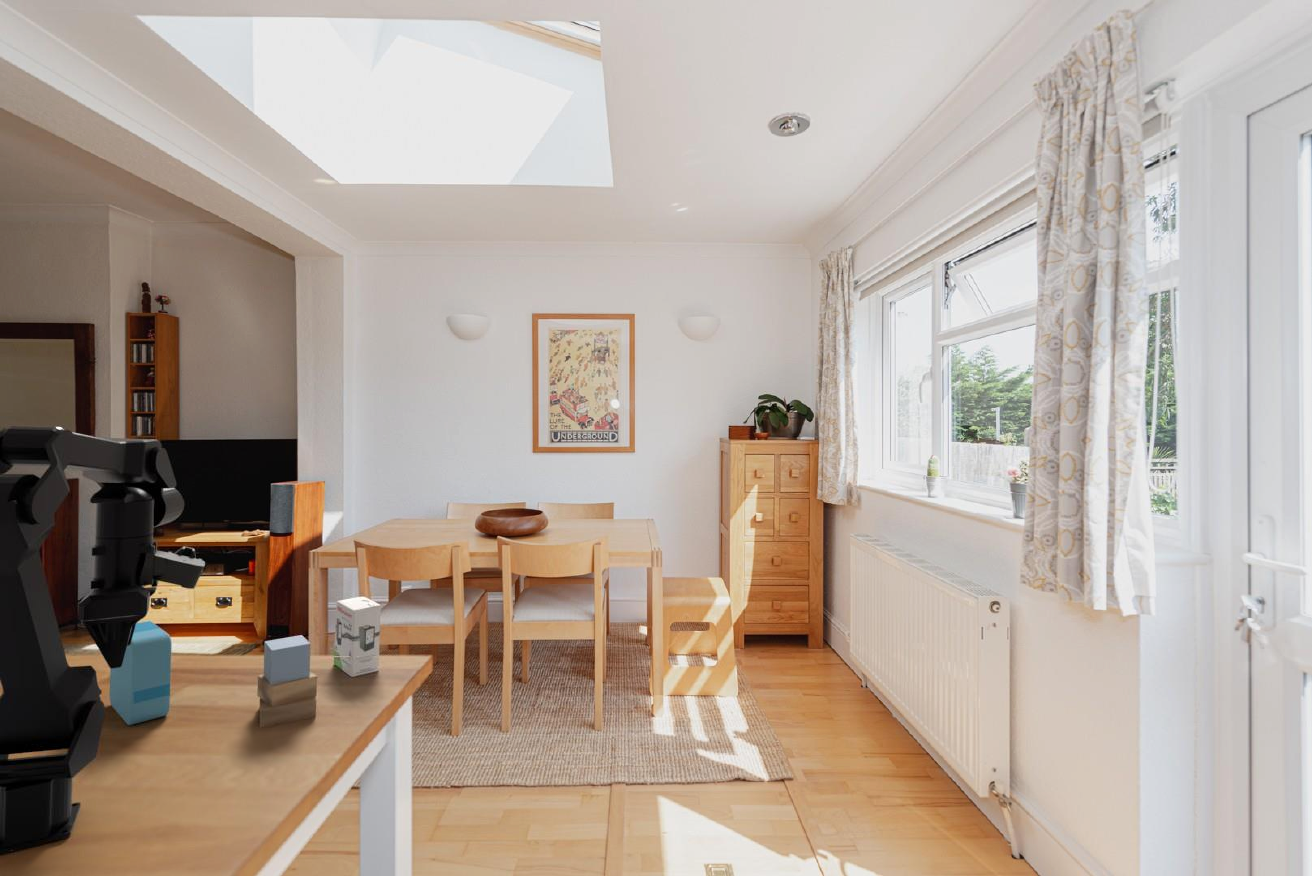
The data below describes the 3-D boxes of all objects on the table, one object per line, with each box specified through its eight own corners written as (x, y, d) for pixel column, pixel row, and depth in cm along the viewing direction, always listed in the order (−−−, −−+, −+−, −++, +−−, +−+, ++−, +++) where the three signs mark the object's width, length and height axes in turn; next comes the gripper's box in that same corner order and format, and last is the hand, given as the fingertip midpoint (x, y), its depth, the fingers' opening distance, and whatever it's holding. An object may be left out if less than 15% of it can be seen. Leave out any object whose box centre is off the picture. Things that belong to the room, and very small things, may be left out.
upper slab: (316, 695, 95) (317, 675, 95) (272, 707, 90) (273, 686, 90) (300, 684, 99) (301, 665, 99) (257, 695, 94) (258, 675, 94)
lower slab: (315, 720, 93) (316, 699, 93) (259, 730, 90) (260, 709, 90) (311, 702, 99) (312, 683, 99) (259, 711, 95) (259, 691, 95)
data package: (169, 718, 91) (172, 635, 91) (129, 729, 88) (132, 643, 88) (146, 695, 99) (148, 618, 99) (108, 704, 95) (111, 624, 95)
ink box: (332, 664, 114) (334, 599, 114) (360, 658, 118) (362, 595, 118) (351, 678, 108) (353, 609, 108) (380, 671, 112) (382, 604, 112)
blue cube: (309, 676, 94) (310, 643, 94) (271, 685, 91) (271, 650, 91) (301, 667, 98) (301, 635, 98) (263, 674, 94) (264, 641, 94)
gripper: (200, 542, 78) (195, 668, 78) (203, 522, 93) (199, 627, 93) (79, 549, 72) (74, 685, 72) (104, 526, 87) (100, 639, 87)
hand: (120, 656), depth 81 cm, fingers open, 9 cm apart
